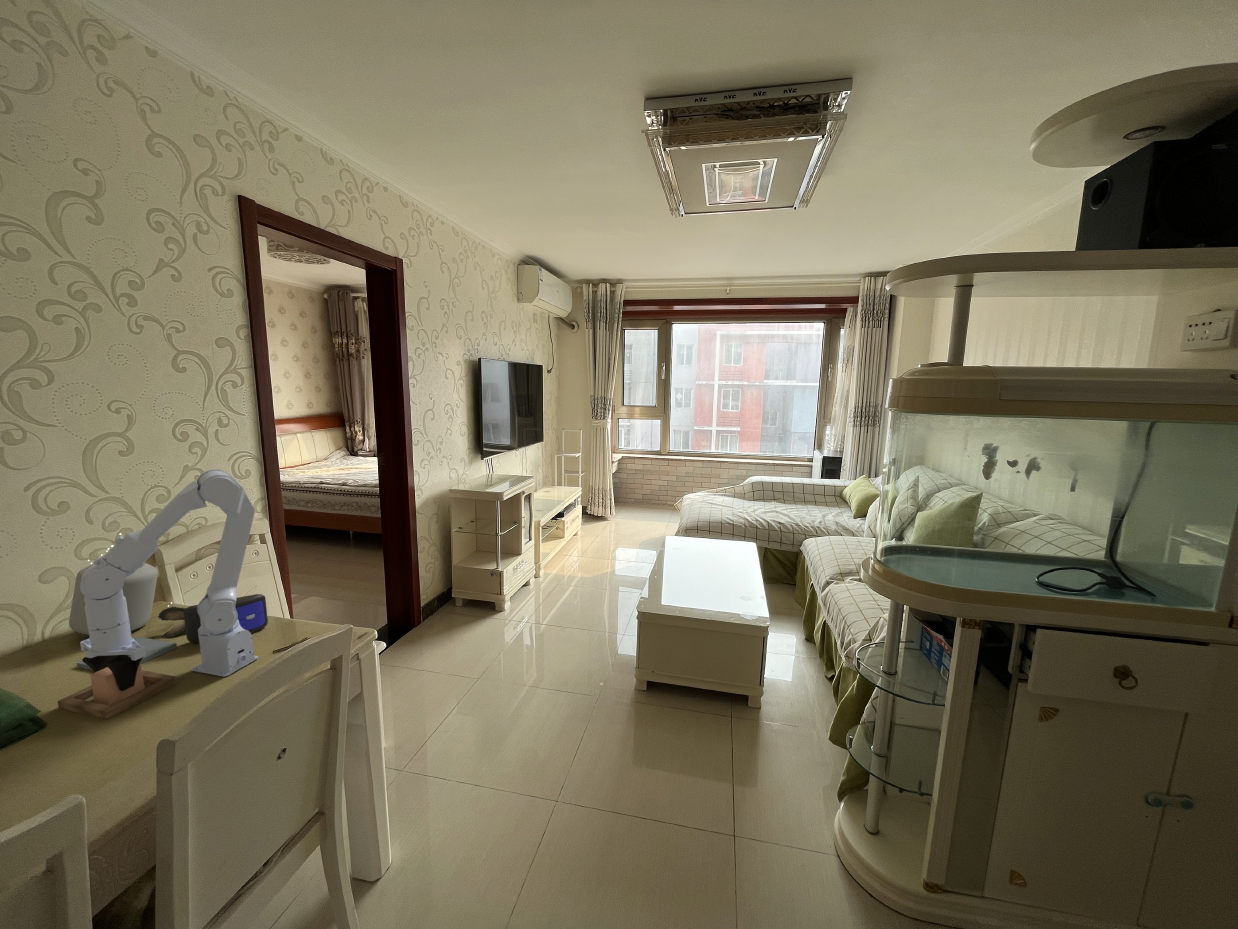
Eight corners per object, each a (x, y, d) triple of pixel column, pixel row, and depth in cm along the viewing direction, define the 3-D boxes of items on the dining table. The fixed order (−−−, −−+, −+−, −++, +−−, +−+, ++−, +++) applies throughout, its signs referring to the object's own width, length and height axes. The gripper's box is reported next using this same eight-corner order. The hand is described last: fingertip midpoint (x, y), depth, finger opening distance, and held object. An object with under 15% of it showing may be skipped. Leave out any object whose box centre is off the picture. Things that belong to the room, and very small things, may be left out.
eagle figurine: (198, 614, 135) (154, 621, 127) (206, 595, 132) (162, 601, 125) (206, 636, 131) (161, 644, 123) (215, 617, 129) (170, 624, 121)
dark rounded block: (185, 650, 119) (180, 613, 117) (188, 642, 123) (183, 605, 121) (268, 632, 128) (264, 597, 126) (268, 625, 131) (265, 591, 130)
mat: (176, 647, 120) (176, 643, 120) (117, 674, 108) (116, 670, 108) (139, 640, 123) (138, 636, 122) (77, 667, 111) (76, 662, 111)
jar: (172, 607, 141) (161, 522, 137) (175, 626, 130) (162, 534, 126) (74, 629, 128) (59, 535, 124) (68, 651, 117) (51, 550, 113)
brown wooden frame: (176, 683, 106) (175, 676, 106) (107, 719, 94) (106, 712, 94) (130, 674, 109) (130, 667, 109) (58, 708, 97) (57, 701, 97)
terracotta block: (144, 688, 104) (140, 661, 103) (109, 705, 98) (105, 677, 97) (130, 685, 105) (126, 658, 104) (94, 702, 99) (90, 674, 98)
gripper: (56, 628, 97) (67, 692, 99) (111, 638, 94) (121, 704, 96) (101, 612, 104) (110, 672, 106) (153, 621, 100) (162, 683, 102)
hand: (118, 686), depth 101 cm, fingers closed on terracotta block, 4 cm apart
